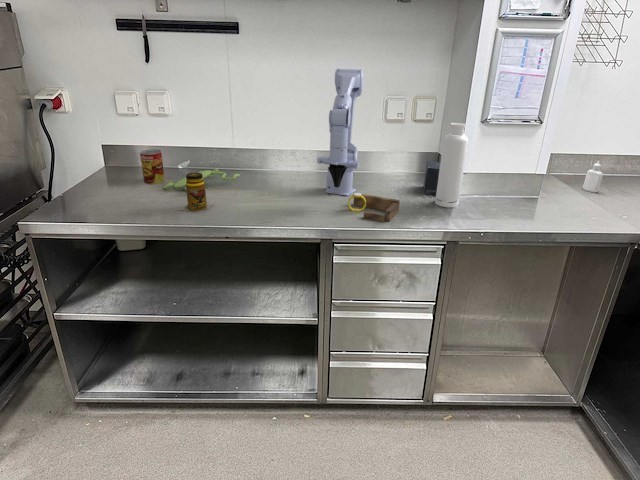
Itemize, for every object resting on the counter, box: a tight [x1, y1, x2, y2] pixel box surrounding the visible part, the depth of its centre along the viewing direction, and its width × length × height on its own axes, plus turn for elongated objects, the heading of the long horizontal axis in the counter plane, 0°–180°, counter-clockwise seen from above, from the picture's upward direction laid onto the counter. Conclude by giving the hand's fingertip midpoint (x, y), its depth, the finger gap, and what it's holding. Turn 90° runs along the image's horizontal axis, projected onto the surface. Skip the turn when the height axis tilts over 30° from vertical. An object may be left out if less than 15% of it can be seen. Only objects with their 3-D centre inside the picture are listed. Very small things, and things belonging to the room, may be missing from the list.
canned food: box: [139, 148, 166, 185], centre depth 173 cm, size 8×8×12 cm
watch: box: [347, 192, 366, 212], centre depth 148 cm, size 6×3×6 cm, turn 84°
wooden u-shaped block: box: [352, 193, 401, 222], centre depth 147 cm, size 16×12×4 cm
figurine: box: [162, 168, 240, 191], centre depth 169 cm, size 18×27×6 cm
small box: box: [422, 160, 441, 196], centre depth 169 cm, size 11×6×10 cm, turn 168°
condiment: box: [178, 171, 212, 214], centre depth 146 cm, size 7×8×12 cm
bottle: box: [434, 122, 469, 208], centre depth 152 cm, size 8×8×28 cm
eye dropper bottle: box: [582, 160, 604, 194], centre depth 172 cm, size 4×6×12 cm
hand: (337, 186), depth 149 cm, fingers closed
